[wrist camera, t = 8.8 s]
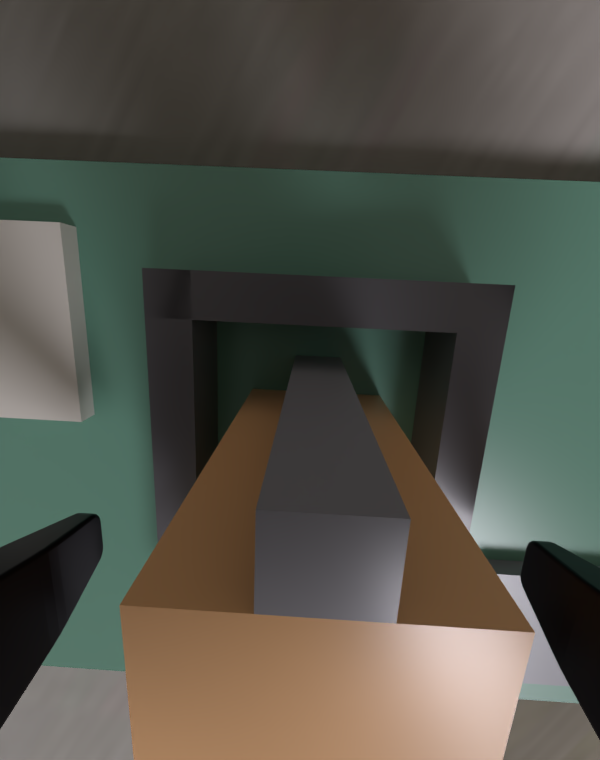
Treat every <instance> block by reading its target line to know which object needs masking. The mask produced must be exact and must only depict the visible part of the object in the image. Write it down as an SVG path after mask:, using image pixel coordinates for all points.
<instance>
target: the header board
mask: <svg viewBox="0 0 600 760" xmlns="http://www.w3.org/2000/svg"><path fill="white" fill-rule="evenodd" d="M296 355H301V356H321V357H340V358H341V360H342V363H343V365H344V367H345V369H346V372H347V374H348V376H349V379H350V381H351V383H352V385H353V388H354V390H355V392H356V394H361V395H380V397H381V398H382V400H383V401H384V403H385V405H386V406H387V408H388V409H389V411H390V412H391V414H392V415H393V417H394V418H395V420H396V421H397V423H398V424H399V426H400V427H401V429H402V430H403V432H404V433H405V435H406V436H407V438H408V440H409V441H410V443H411V444H412V446H413V447H414V449H415V450H416V452H417V453H418V455H419V456H420V458H421V459H422V461H423V462H424V464H425V465H426V467H427V468H428V470H429V472H430V473H431V475H432V476H433V478H434V479H435V481H436V482H437V484H438V485H439V487H440V488H441V490H442V491H443V493H444V494H445V496H446V497H447V499H448V500H449V502H450V504H451V505H452V507H453V508H454V510H455V511H456V513H457V514H458V516H459V517H460V519H461V520H462V522H463V523H464V525H465V526H466V528H467V529H468V531H469V532H470V534H471V535H472V537H473V539H474V540H475V542H476V543H477V545H478V546H479V548H480V549H481V551H482V552H483V554H484V555H485V557H486V558H487V560H488V561H489V563H490V564H491V566H492V567H493V569H494V571H495V572H496V574H497V575H498V577H499V578H500V580H501V581H502V583H503V584H504V586H505V587H506V589H507V590H508V592H509V593H510V595H511V596H512V598H513V599H514V601H515V602H516V604H517V606H518V607H519V609H520V610H521V612H522V613H523V615H524V616H525V618H526V619H527V621H528V622H529V624H530V625H531V627H532V628H533V630H534V631H535V636H534V640H533V644H532V648H531V651H530V655H529V659H528V663H527V667H526V671H525V675H524V679H523V683H522V687H521V690H520V694H519V698H518V699H525V700H540V701H554V702H568V703H579V702H578V700H577V698H576V697H575V695H574V693H573V691H572V689H571V688H570V686H569V684H568V682H567V680H566V678H565V676H564V675H563V673H562V671H561V669H560V667H559V665H558V663H557V661H556V659H555V657H554V655H553V652H552V650H551V648H550V646H549V644H548V642H547V639H546V637H545V635H544V633H543V631H542V628H541V626H540V624H539V622H538V620H537V617H536V615H535V613H534V611H533V609H532V607H531V604H530V602H529V600H528V598H527V596H526V593H525V591H524V589H523V587H522V583H521V578H520V573H521V568H522V564H523V560H524V555H525V551H526V547H527V544H528V543H529V542H531V541H549V542H553V543H555V544H557V545H559V546H561V547H562V548H564V549H566V550H568V551H570V552H572V553H574V554H575V555H577V556H579V557H581V558H583V559H585V560H586V561H588V562H590V563H592V564H594V565H596V566H598V567H599V568H600V182H588V181H563V180H539V179H514V178H489V177H465V176H440V175H416V174H391V173H367V172H342V171H318V170H293V169H268V168H244V167H219V166H195V165H170V164H146V163H121V162H97V161H72V160H47V159H23V158H0V547H2V546H4V545H6V544H8V543H11V542H13V541H15V540H17V539H20V538H22V537H24V536H27V535H29V534H31V533H33V532H36V531H38V530H40V529H42V528H45V527H47V526H49V525H51V524H54V523H56V522H58V521H60V520H63V519H65V518H67V517H69V516H72V515H74V514H76V513H92V514H97V515H98V516H99V517H100V520H101V529H102V539H103V553H102V556H101V559H100V561H99V563H98V565H97V567H96V569H95V571H94V573H93V574H92V576H91V578H90V580H89V582H88V584H87V586H86V588H85V590H84V592H83V593H82V595H81V597H80V599H79V601H78V603H77V605H76V607H75V609H74V611H73V613H72V614H71V616H70V618H69V620H68V622H67V624H66V626H65V627H64V629H63V631H62V633H61V635H60V636H59V638H58V639H57V641H56V643H55V644H54V646H53V648H52V649H51V651H50V652H49V654H48V655H47V657H46V659H45V660H44V662H43V663H42V665H43V666H58V667H72V668H86V669H100V670H114V671H126V670H125V659H124V649H123V638H122V628H121V617H120V606H119V605H120V603H121V602H122V600H123V599H124V597H125V595H126V594H127V592H128V590H129V589H130V587H131V586H132V584H133V582H134V581H135V579H136V577H137V576H138V574H139V573H140V571H141V569H142V568H143V566H144V564H145V563H146V561H147V560H148V558H149V556H150V555H151V553H152V551H153V550H154V548H155V547H156V545H157V543H158V542H159V540H160V538H161V537H162V535H163V534H164V532H165V530H166V529H167V527H168V525H169V524H170V522H171V521H172V519H173V517H174V516H175V514H176V512H177V511H178V509H179V508H180V506H181V504H182V503H183V501H184V499H185V498H186V496H187V495H188V493H189V491H190V490H191V488H192V487H193V485H194V483H195V482H196V480H197V478H198V477H199V475H200V474H201V472H202V470H203V469H204V467H205V465H206V464H207V462H208V461H209V459H210V457H211V456H212V454H213V452H214V451H215V449H216V448H217V446H218V444H219V443H220V441H221V439H222V438H223V436H224V435H225V433H226V431H227V430H228V428H229V426H230V425H231V423H232V422H233V420H234V418H235V417H236V415H237V413H238V412H239V410H240V409H241V407H242V405H243V404H244V402H245V400H246V399H247V397H248V396H249V394H250V392H251V391H252V389H266V390H285V391H287V387H288V383H289V379H290V375H291V371H292V368H293V364H294V360H295V356H296Z"/></svg>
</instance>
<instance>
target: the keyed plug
mask: <svg viewBox="0 0 600 760" xmlns="http://www.w3.org/2000/svg"><path fill="white" fill-rule="evenodd" d="M119 606H120V617H121V628H122V638H123V649H124V659H125V670H126V681H127V691H128V702H129V712H130V723H131V734H132V744H133V755H134V760H503V757H504V753H505V749H506V745H507V741H508V737H509V733H510V729H511V725H512V722H513V718H514V714H515V710H516V706H517V702H518V698H519V694H520V690H521V687H522V683H523V679H524V675H525V671H526V667H527V663H528V659H529V655H530V651H531V648H532V644H533V640H534V636H535V631H534V630H533V628H532V627H531V625H530V624H529V622H528V621H527V619H526V618H525V616H524V615H523V613H522V612H521V610H520V609H519V607H518V606H517V604H516V602H515V601H514V599H513V598H512V596H511V595H510V593H509V592H508V590H507V589H506V587H505V586H504V584H503V583H502V581H501V580H500V578H499V577H498V575H497V574H496V572H495V571H494V569H493V567H492V566H491V564H490V563H489V561H488V560H487V558H486V557H485V555H484V554H483V552H482V551H481V549H480V548H479V546H478V545H477V543H476V542H475V540H474V539H473V537H472V535H471V534H470V532H469V531H468V529H467V528H466V526H465V525H464V523H463V522H462V520H461V519H460V517H459V516H458V514H457V513H456V511H455V510H454V508H453V507H452V505H451V504H450V502H449V500H448V499H447V497H446V496H445V494H444V493H443V491H442V490H441V488H440V487H439V485H438V484H437V482H436V481H435V479H434V478H433V476H432V475H431V473H430V472H429V470H428V468H427V467H426V465H425V464H424V462H423V461H422V459H421V458H420V456H419V455H418V453H417V452H416V450H415V449H414V447H413V446H412V444H411V443H410V441H409V440H408V438H407V436H406V435H405V433H404V432H403V430H402V429H401V427H400V426H399V424H398V423H397V421H396V420H395V418H394V417H393V415H392V414H391V412H390V411H389V409H388V408H387V406H386V405H385V403H384V401H383V400H382V398H381V397H380V395H361V394H356V392H355V390H354V388H353V385H352V383H351V381H350V379H349V376H348V374H347V372H346V369H345V367H344V365H343V363H342V360H341V358H340V357H321V356H301V355H296V356H295V360H294V364H293V368H292V371H291V375H290V379H289V383H288V387H287V391H285V390H266V389H252V391H251V392H250V394H249V396H248V397H247V399H246V400H245V402H244V404H243V405H242V407H241V409H240V410H239V412H238V413H237V415H236V417H235V418H234V420H233V422H232V423H231V425H230V426H229V428H228V430H227V431H226V433H225V435H224V436H223V438H222V439H221V441H220V443H219V444H218V446H217V448H216V449H215V451H214V452H213V454H212V456H211V457H210V459H209V461H208V462H207V464H206V465H205V467H204V469H203V470H202V472H201V474H200V475H199V477H198V478H197V480H196V482H195V483H194V485H193V487H192V488H191V490H190V491H189V493H188V495H187V496H186V498H185V499H184V501H183V503H182V504H181V506H180V508H179V509H178V511H177V512H176V514H175V516H174V517H173V519H172V521H171V522H170V524H169V525H168V527H167V529H166V530H165V532H164V534H163V535H162V537H161V538H160V540H159V542H158V543H157V545H156V547H155V548H154V550H153V551H152V553H151V555H150V556H149V558H148V560H147V561H146V563H145V564H144V566H143V568H142V569H141V571H140V573H139V574H138V576H137V577H136V579H135V581H134V582H133V584H132V586H131V587H130V589H129V590H128V592H127V594H126V595H125V597H124V599H123V600H122V602H121V603H120V605H119Z"/></svg>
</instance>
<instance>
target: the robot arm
mask: <svg viewBox="0 0 600 760" xmlns="http://www.w3.org/2000/svg"><path fill="white" fill-rule="evenodd" d="M102 553H103V539H102V529H101V520H100V517H99V516H98V515H97V514H92V513H76V514H74V515H72V516H69V517H67V518H65V519H63V520H60V521H58V522H56V523H54V524H51V525H49V526H47V527H45V528H42V529H40V530H38V531H36V532H33V533H31V534H29V535H27V536H24V537H22V538H20V539H17V540H15V541H13V542H11V543H8V544H6V545H4V546H2V547H0V729H1V727H2V726H3V724H4V723H5V721H6V719H7V718H8V716H9V715H10V713H11V712H12V710H13V709H14V707H15V705H16V704H17V702H18V701H19V699H20V698H21V696H22V694H23V693H24V691H25V690H26V688H27V687H28V685H29V684H30V682H31V680H32V679H33V677H34V676H35V674H36V673H37V671H38V669H39V668H40V666H41V665H42V663H43V662H44V660H45V659H46V657H47V655H48V654H49V652H50V651H51V649H52V648H53V646H54V644H55V643H56V641H57V639H58V638H59V636H60V635H61V633H62V631H63V629H64V627H65V626H66V624H67V622H68V620H69V618H70V616H71V614H72V613H73V611H74V609H75V607H76V605H77V603H78V601H79V599H80V597H81V595H82V593H83V592H84V590H85V588H86V586H87V584H88V582H89V580H90V578H91V576H92V574H93V573H94V571H95V569H96V567H97V565H98V563H99V561H100V559H101V556H102ZM520 578H521V583H522V587H523V589H524V591H525V593H526V596H527V598H528V600H529V602H530V604H531V607H532V609H533V611H534V613H535V615H536V617H537V620H538V622H539V624H540V626H541V628H542V631H543V633H544V635H545V637H546V639H547V642H548V644H549V646H550V648H551V650H552V652H553V655H554V657H555V659H556V661H557V663H558V665H559V667H560V669H561V671H562V673H563V675H564V676H565V678H566V680H567V682H568V684H569V686H570V688H571V689H572V691H573V693H574V695H575V697H576V698H577V700H578V702H579V704H580V706H581V707H582V709H583V711H584V713H585V714H586V716H587V718H588V720H589V722H590V723H591V725H592V727H593V729H594V731H595V732H596V734H597V736H598V738H599V740H600V568H599V567H598V566H596V565H594V564H592V563H590V562H588V561H586V560H585V559H583V558H581V557H579V556H577V555H575V554H574V553H572V552H570V551H568V550H566V549H564V548H562V547H561V546H559V545H557V544H555V543H553V542H549V541H531V542H529V543H528V544H527V547H526V551H525V555H524V560H523V564H522V568H521V573H520Z"/></svg>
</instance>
